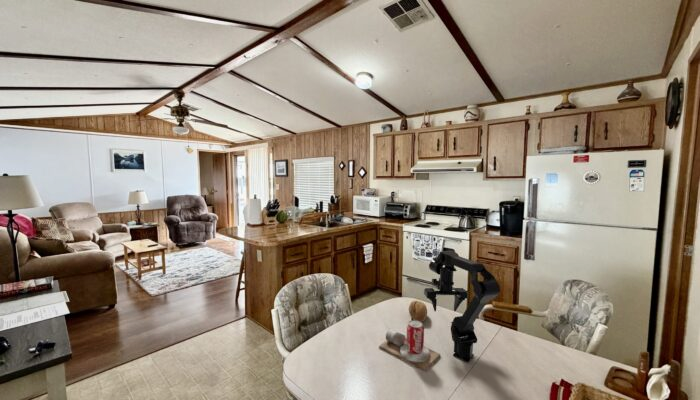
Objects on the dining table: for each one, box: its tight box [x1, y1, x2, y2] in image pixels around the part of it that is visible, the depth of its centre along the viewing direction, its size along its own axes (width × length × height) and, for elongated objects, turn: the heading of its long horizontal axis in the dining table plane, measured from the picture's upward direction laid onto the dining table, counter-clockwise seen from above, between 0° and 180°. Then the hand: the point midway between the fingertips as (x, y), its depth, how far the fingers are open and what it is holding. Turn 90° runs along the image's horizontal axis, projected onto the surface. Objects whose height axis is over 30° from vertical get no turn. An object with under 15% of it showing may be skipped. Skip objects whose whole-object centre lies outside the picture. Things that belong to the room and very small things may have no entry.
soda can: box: [405, 319, 425, 355], centre depth 123 cm, size 7×7×12 cm
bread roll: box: [408, 300, 428, 323], centre depth 156 cm, size 10×15×8 cm, turn 170°
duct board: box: [378, 328, 441, 372], centre depth 126 cm, size 22×13×6 cm, turn 47°
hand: (444, 311), depth 136 cm, fingers open, 9 cm apart
